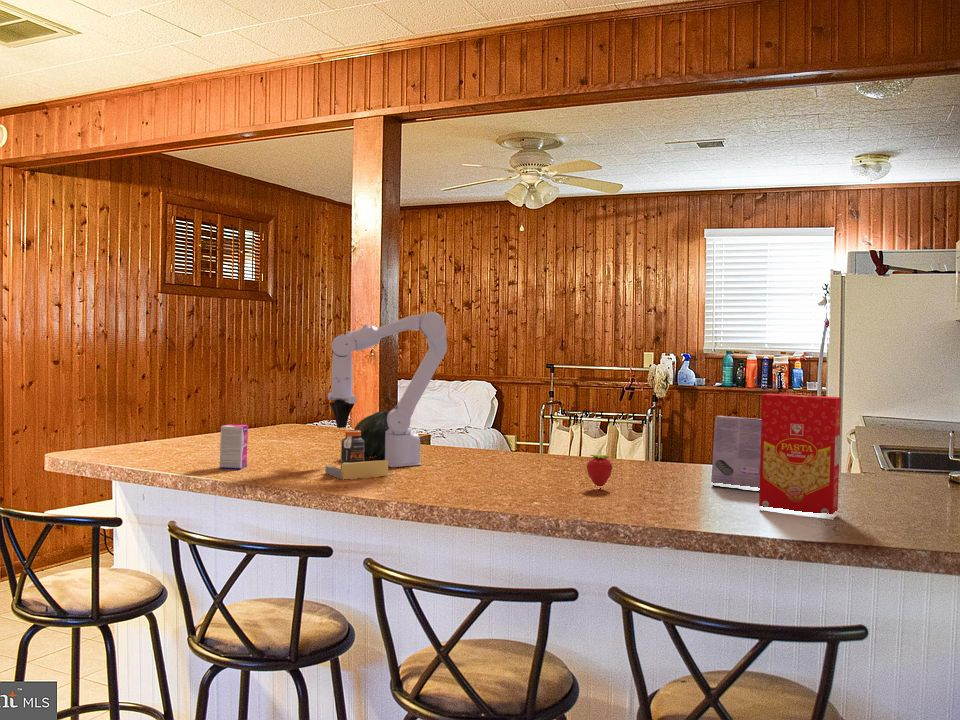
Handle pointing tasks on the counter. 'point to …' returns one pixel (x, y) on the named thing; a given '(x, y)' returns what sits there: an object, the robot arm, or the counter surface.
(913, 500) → the counter surface
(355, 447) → the pill bottle
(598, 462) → the strawberry
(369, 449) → the squash
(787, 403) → the food packaging
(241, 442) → the supplement box
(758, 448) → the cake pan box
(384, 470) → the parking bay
